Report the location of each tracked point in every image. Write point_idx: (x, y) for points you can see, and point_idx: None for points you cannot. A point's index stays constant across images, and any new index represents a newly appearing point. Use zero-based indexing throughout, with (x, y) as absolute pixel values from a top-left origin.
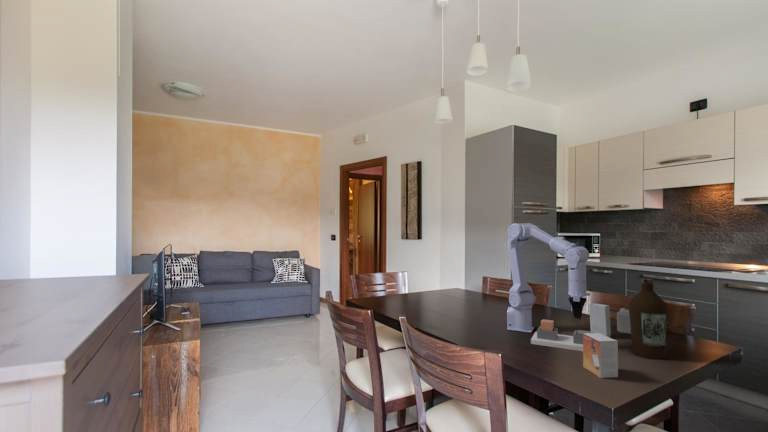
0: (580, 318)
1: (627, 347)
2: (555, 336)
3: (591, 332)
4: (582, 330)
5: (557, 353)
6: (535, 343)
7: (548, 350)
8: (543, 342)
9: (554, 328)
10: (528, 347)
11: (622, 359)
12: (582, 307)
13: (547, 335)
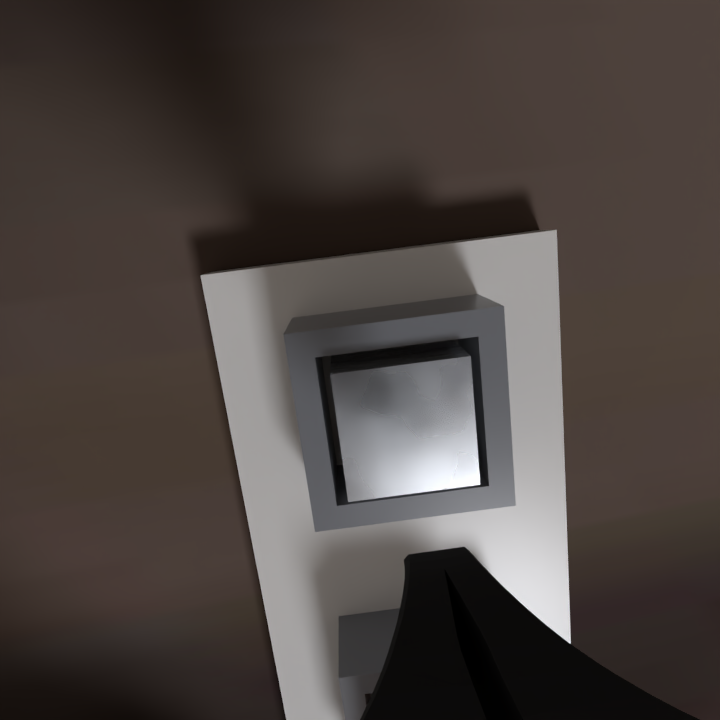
0: (469, 554)
1: (163, 14)
2: None
3: (300, 361)
4: (345, 455)
5: (702, 515)
6: None
7: (659, 583)
8: None
9: (365, 698)
10: None
11: (607, 32)
12: (615, 684)
13: None
